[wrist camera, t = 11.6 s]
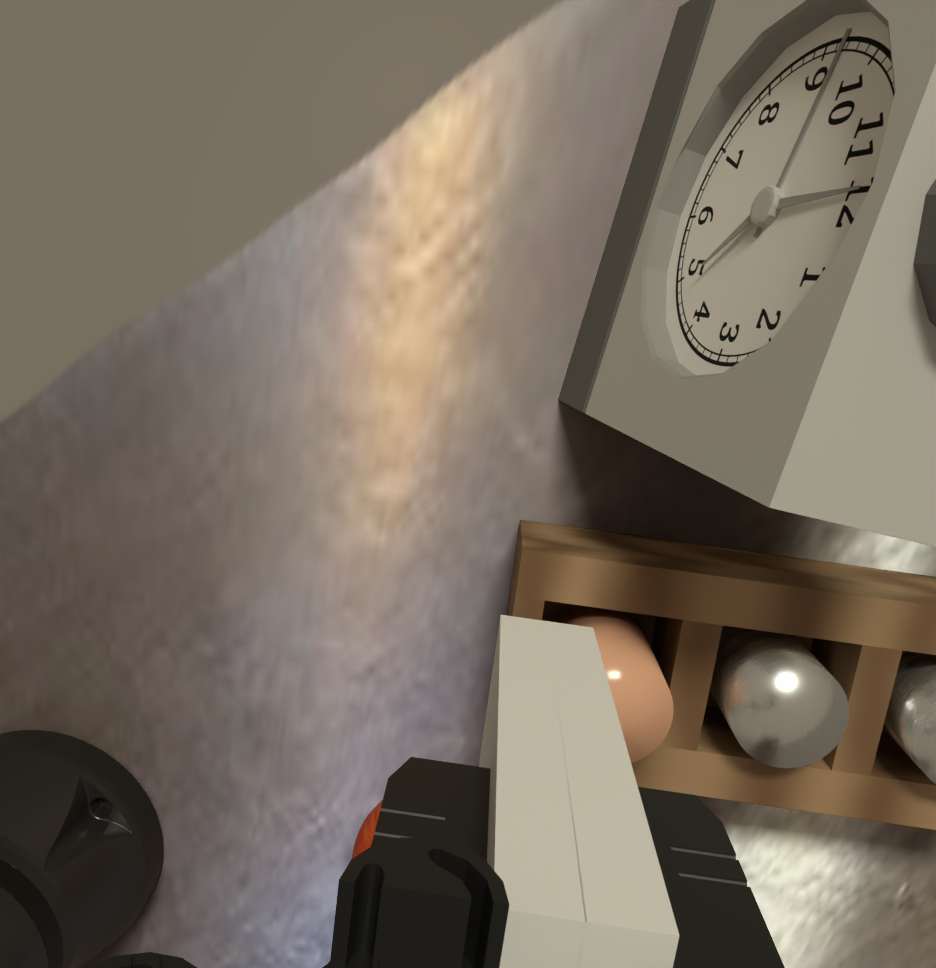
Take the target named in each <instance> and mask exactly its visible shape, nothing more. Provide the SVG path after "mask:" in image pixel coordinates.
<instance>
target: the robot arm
mask: <svg viewBox="0 0 936 968" xmlns="http://www.w3.org/2000/svg"><path fill="white" fill-rule="evenodd" d="M162 859H163V841H162V834H161V829H160V824H159V821H158V818H157V815H156V813H155V810H154V808H153V806H152V804H151V802H150V800H149V798H148V796H147V795H146V793H145V791H144V790H143V788H142V787H141V786H140V784H139V783H138V782H137V781H136V779H135V778H134V777H133V776H132V775H131V774H130V773H129V772H128V771H127V770H126V769H125V768H124V767H123V766H122V765H121V764H120V763H119V762H117V761H116V760H115V759H114V758H112V757H111V756H109V755H108V754H107V753H105V752H103V751H102V750H100V749H98V748H97V747H95V746H93V745H91V744H89V743H87V742H85V741H82V740H80V739H77V738H74V737H71V736H68V735H64V734H60V733H55V732H50V731H40V730H22V731H13V732H8V733H3V734H0V968H82V967H83V966H84V965H85V964H86V963H88V962H89V961H90V960H91V959H92V958H94V957H95V956H96V955H97V954H99V953H100V952H102V951H103V950H105V949H106V948H108V947H109V946H111V945H112V944H113V943H115V942H116V941H117V940H118V939H119V938H120V937H121V936H122V935H123V934H124V933H125V932H126V931H127V930H128V929H129V927H130V926H131V925H132V924H133V922H134V921H135V920H136V918H137V917H138V915H139V913H140V912H141V910H142V909H143V907H144V905H145V904H146V902H147V901H148V899H149V897H150V896H151V894H152V892H153V890H154V888H155V886H156V884H157V881H158V878H159V875H160V871H161V866H162ZM87 968H197V967H195V966H194V965H192V964H191V963H189V962H187V961H186V960H184V959H183V958H179V957H174V956H168V955H163V954H158V953H152V952H147V953H139V954H130V955H122V956H114V957H112V958H109V959H107V960H104V961H102V962H99V963H97V964H94V965H92V966H89V967H87ZM323 968H784V965H783V963H782V961H781V958H780V956H779V954H778V951H777V949H776V947H775V944H774V942H773V940H772V937H771V935H770V933H769V930H768V928H767V926H766V923H765V921H764V919H763V916H762V914H761V912H760V909H759V907H758V905H757V902H756V900H755V898H754V895H753V893H752V891H751V888H750V887H747V879H746V877H745V874H744V872H743V870H742V867H741V865H740V863H739V860H736V853H735V851H734V849H733V846H732V844H731V842H730V839H729V837H728V835H727V832H726V830H725V828H724V825H723V823H722V822H721V821H720V820H719V819H718V818H717V817H716V816H715V815H714V814H713V813H712V812H711V811H710V810H709V809H708V808H707V807H706V806H705V805H704V804H703V803H702V802H701V801H700V800H699V799H698V798H697V797H696V796H695V795H692V794H685V793H678V792H671V791H664V790H657V789H650V788H643V787H638V786H637V782H636V779H635V775H634V772H633V768H632V764H631V761H630V757H629V754H628V750H627V747H626V743H625V739H624V736H623V732H622V729H621V725H620V722H619V718H618V714H617V711H616V707H615V704H614V700H613V697H612V693H611V689H610V686H609V682H608V679H607V675H606V672H605V668H604V664H603V661H602V657H601V654H600V650H599V647H598V643H597V639H596V636H595V632H594V629H593V628H592V627H585V626H578V625H571V624H564V623H557V622H550V621H542V620H535V619H528V618H521V617H514V616H507V615H500V622H499V629H498V636H497V643H496V649H495V656H494V663H493V670H492V677H491V684H490V691H489V698H488V704H487V711H486V718H485V725H484V732H483V739H482V746H481V752H480V759H479V766H478V767H477V766H470V765H463V764H456V763H449V762H442V761H435V760H428V759H421V758H414V757H411V758H410V759H409V760H408V761H406V762H405V763H404V764H403V765H402V766H401V767H400V768H399V769H398V770H397V771H396V772H395V773H393V774H392V775H391V776H390V777H389V778H388V782H387V786H386V790H385V794H384V798H383V801H382V805H381V811H380V813H379V817H378V821H377V824H376V828H375V834H374V836H373V840H372V844H371V847H369V848H368V849H366V850H365V851H363V852H362V853H360V854H359V855H357V856H356V857H354V858H353V859H352V860H351V861H350V863H349V865H348V866H347V868H346V870H345V871H344V873H343V874H342V876H341V878H340V879H339V887H338V896H337V905H336V914H335V923H334V932H333V941H332V950H331V959H330V962H329V963H328V964H327V965H325V966H324V967H323Z"/></svg>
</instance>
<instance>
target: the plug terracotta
mask: <svg viewBox="0 0 936 968" xmlns="http://www.w3.org/2000/svg"><path fill="white" fill-rule="evenodd" d="M555 622H557V623H564V624H571V625H578V626H585V627H592V628H593V629H594V632H595V636H596V639H597V643H598V647H599V650H600V654H601V657H602V661H603V664H604V668H605V672H606V675H607V679H608V682H609V686H610V689H611V693H612V697H613V700H614V704H615V707H616V711H617V714H618V718H619V722H620V725H621V729H622V732H623V736H624V739H625V743H626V747H627V750H628V754H629V757H630V761H631V763H633V762H636V761H638V760H640V759H642V758H644V757H646V756H648V755H649V754H650V753H652V752H653V751H654V750H655V749H656V748H657V747H658V746H659V745H660V744H661V743H662V742H663V740H664V739H665V737H666V736H667V734H668V732H669V729H670V727H671V724H672V720H673V700H672V696H671V692H670V690H669V687H668V685H667V683H666V681H665V678H664V676H663V674H662V671H661V669H660V667H659V665H658V662H657V660H656V658H655V656H654V653H653V651H652V649H651V646H650V644H649V642H648V640H647V637H646V635H645V633H644V631H643V629H642V627H641V625H640V624H639V622H638V621H637V620H636V619H635V617H634V616H632V615H631V614H630V613H629V612H624V611H616V610H609V609H602V608H595V607H588V606H581V605H577V606H575V607H573V608H571V609H569V610H567V611H566V612H565V613H563V614H562V615H561V616H560V617H559V618H558V619H557V620H556V621H555Z"/></svg>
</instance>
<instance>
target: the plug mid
mask: <svg viewBox="0 0 936 968" xmlns="http://www.w3.org/2000/svg"><path fill="white" fill-rule="evenodd" d="M710 691H711V693H712V695H713V697H714V699H715V700H716V702H717V704H718V706H719V708H720V710H721V711H722V713H723V715H724V717H725V719H726V720H727V722H728V724H729V726H730V728H731V730H732V731H733V733H734V735H735V737H736V739H737V740H738V742H739V744H740V745H741V747H742V748H743V749H744V750H745V751H746V752H747V753H748V754H749V755H750V756H751V757H753V758H754V759H756V760H757V761H759V762H761V763H764V764H766V765H769V766H773V767H778V768H796V767H802V766H806V765H809V764H812V763H814V762H816V761H818V760H820V759H822V758H823V757H825V756H826V755H827V754H829V753H830V752H831V751H832V750H833V749H834V748H835V747H836V746H837V745H838V743H839V742H840V740H841V739H842V737H843V735H844V733H845V731H846V728H847V725H848V719H849V706H848V701H847V697H846V695H845V692H844V690H843V689H842V687H841V685H840V684H839V683H838V682H837V680H836V679H835V678H834V677H833V676H832V675H831V674H830V673H829V672H828V671H827V669H826V668H825V667H824V666H823V665H822V664H821V663H820V662H819V661H818V660H817V659H816V657H815V656H814V655H813V654H812V653H811V652H810V651H809V650H808V649H807V648H806V647H805V646H804V644H803V643H802V642H801V641H800V640H799V639H798V638H797V637H796V636H795V635H788V634H781V633H774V632H767V631H760V630H752V629H745V628H738V627H731V626H724V625H723V627H722V632H721V637H720V642H719V646H718V651H717V656H716V661H715V666H714V671H713V675H712V680H711V685H710Z"/></svg>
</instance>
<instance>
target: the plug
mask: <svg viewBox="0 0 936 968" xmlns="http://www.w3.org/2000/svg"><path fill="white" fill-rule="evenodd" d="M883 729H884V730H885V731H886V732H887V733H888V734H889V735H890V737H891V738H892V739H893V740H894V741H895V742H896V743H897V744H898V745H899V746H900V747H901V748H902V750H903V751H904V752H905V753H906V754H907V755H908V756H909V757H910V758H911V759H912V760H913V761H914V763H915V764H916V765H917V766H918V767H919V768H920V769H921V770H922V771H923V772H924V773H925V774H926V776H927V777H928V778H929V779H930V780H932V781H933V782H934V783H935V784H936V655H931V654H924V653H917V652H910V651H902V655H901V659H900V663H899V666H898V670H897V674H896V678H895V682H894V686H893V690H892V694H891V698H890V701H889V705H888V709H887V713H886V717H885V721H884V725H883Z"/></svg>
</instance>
